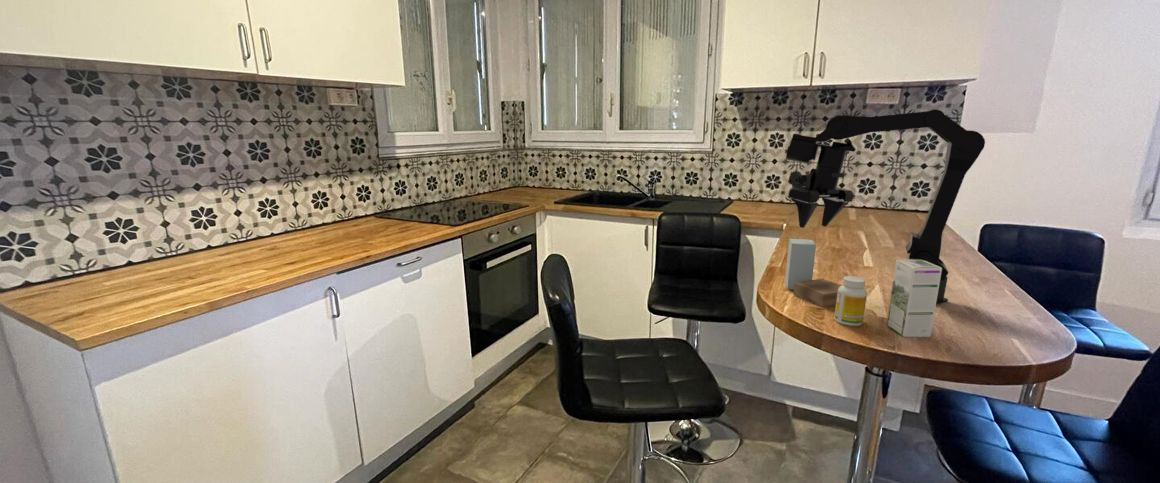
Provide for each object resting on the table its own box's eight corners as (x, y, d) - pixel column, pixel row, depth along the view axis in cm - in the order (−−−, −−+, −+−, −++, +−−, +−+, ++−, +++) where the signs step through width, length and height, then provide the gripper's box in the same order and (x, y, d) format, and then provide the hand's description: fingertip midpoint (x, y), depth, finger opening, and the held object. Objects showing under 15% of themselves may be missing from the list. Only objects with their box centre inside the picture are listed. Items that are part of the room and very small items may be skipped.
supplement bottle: (828, 318, 106) (833, 276, 103) (847, 315, 107) (852, 273, 105) (849, 328, 101) (855, 283, 98) (868, 324, 102) (875, 281, 100)
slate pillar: (807, 284, 128) (812, 239, 125) (810, 291, 123) (816, 244, 120) (784, 282, 129) (789, 238, 127) (787, 289, 124) (792, 243, 121)
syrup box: (932, 337, 96) (944, 266, 93) (901, 337, 96) (913, 266, 93) (913, 325, 102) (924, 258, 98) (884, 325, 102) (895, 258, 98)
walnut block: (851, 303, 115) (853, 289, 114) (822, 308, 112) (823, 294, 111) (821, 291, 123) (823, 278, 123) (793, 296, 120) (794, 282, 120)
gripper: (823, 162, 133) (808, 217, 138) (777, 159, 124) (763, 219, 128) (862, 170, 124) (845, 228, 129) (816, 168, 115) (800, 231, 119)
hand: (812, 226), depth 127 cm, fingers open, 9 cm apart
